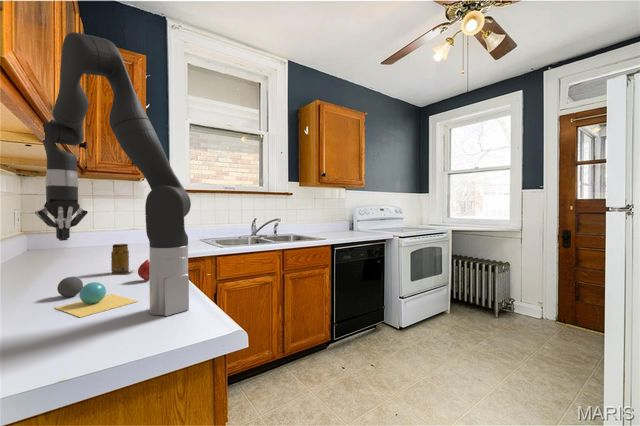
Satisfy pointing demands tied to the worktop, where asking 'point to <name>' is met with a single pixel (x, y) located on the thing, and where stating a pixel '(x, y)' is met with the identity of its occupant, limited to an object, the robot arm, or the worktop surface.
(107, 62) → the robot arm
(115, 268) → the condiment
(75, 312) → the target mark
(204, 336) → the worktop surface
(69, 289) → the dark gray ball
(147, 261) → the onion
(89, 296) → the object ball
